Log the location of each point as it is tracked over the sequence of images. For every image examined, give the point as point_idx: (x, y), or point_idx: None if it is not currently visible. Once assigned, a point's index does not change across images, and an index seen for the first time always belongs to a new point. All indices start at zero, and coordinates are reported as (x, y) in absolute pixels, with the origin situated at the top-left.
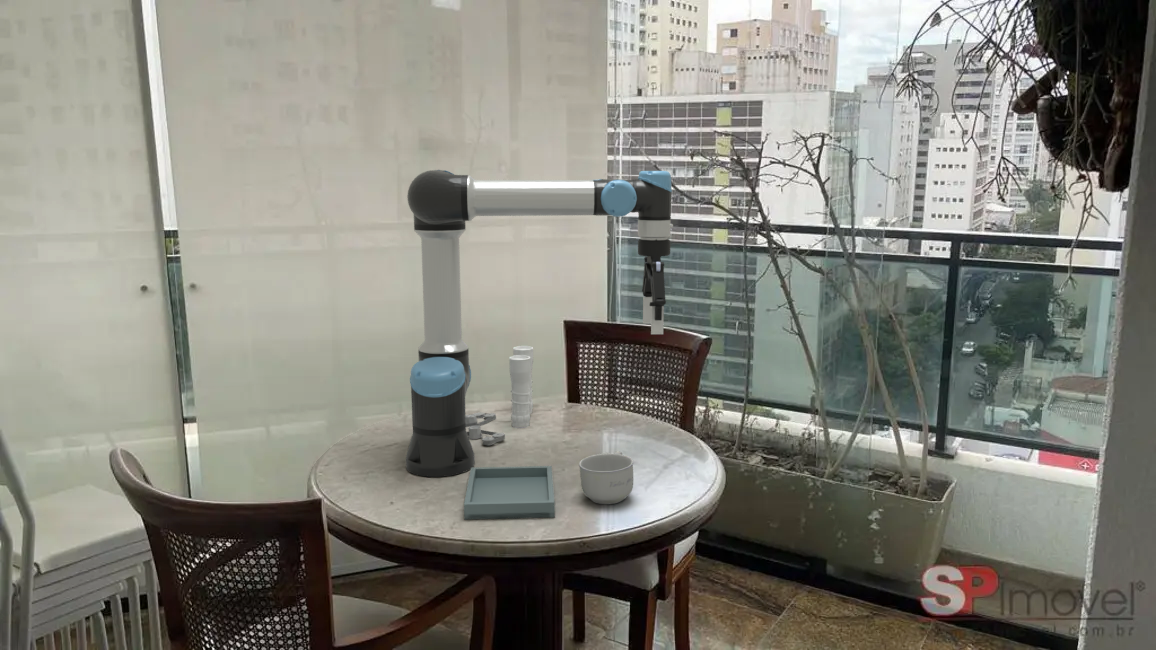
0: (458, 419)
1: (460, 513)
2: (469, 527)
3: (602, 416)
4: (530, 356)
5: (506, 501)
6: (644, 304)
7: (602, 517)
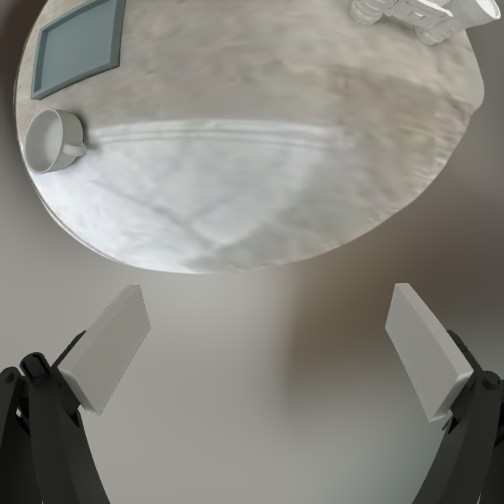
0: None
1: None
2: None
3: (413, 143)
4: (472, 10)
5: (37, 57)
6: (436, 347)
7: None
